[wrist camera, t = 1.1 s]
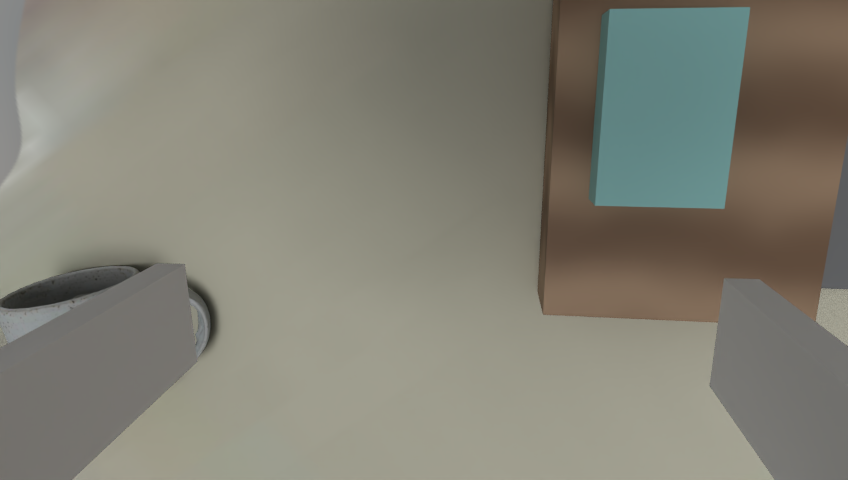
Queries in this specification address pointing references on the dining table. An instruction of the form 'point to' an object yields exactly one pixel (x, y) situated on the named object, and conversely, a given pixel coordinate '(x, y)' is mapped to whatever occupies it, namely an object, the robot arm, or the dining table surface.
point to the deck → (747, 183)
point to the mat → (839, 237)
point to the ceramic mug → (75, 301)
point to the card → (666, 106)
